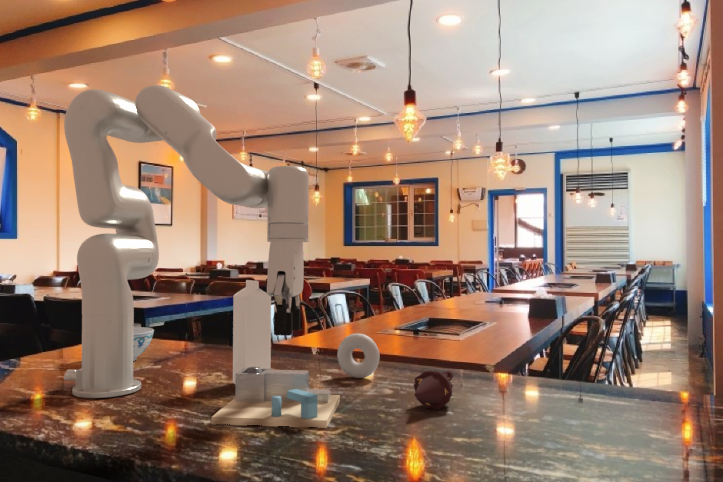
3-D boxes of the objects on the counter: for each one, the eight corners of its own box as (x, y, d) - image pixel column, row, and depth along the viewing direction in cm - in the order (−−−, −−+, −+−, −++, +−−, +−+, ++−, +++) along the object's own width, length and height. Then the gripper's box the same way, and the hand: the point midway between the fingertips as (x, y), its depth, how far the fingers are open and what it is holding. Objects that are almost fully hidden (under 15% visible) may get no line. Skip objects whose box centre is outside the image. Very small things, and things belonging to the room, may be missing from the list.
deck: (211, 424, 92) (211, 416, 92) (241, 398, 108) (241, 392, 108) (326, 428, 90) (326, 420, 90) (339, 401, 106) (339, 395, 106)
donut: (334, 377, 126) (334, 332, 126) (340, 374, 129) (341, 331, 130) (376, 381, 122) (376, 335, 123) (381, 378, 126) (382, 333, 126)
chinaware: (139, 367, 137) (139, 335, 137) (78, 366, 137) (78, 335, 137) (162, 355, 152) (162, 327, 152) (106, 355, 152) (107, 326, 152)
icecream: (440, 383, 94) (471, 374, 107) (402, 367, 98) (436, 360, 111) (429, 423, 94) (461, 409, 107) (391, 405, 98) (426, 394, 111)
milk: (244, 389, 116) (244, 281, 116) (232, 383, 121) (232, 280, 121) (271, 384, 120) (271, 280, 120) (258, 379, 124) (258, 279, 125)
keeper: (269, 422, 93) (269, 393, 93) (294, 416, 97) (294, 388, 97) (292, 431, 89) (292, 400, 89) (317, 424, 92) (317, 394, 92)
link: (235, 401, 101) (235, 373, 101) (243, 394, 106) (244, 367, 107) (326, 404, 100) (327, 375, 100) (331, 396, 105) (331, 369, 105)
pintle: (245, 399, 103) (245, 368, 103) (249, 396, 105) (249, 366, 105) (257, 400, 102) (257, 369, 103) (260, 397, 105) (260, 366, 105)
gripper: (279, 235, 113) (278, 325, 112) (254, 232, 95) (253, 339, 95) (316, 235, 112) (315, 326, 112) (298, 232, 95) (297, 340, 94)
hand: (287, 331), depth 103 cm, fingers open, 6 cm apart
